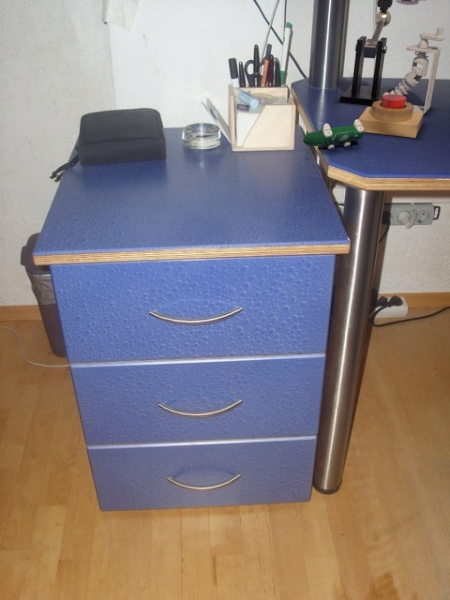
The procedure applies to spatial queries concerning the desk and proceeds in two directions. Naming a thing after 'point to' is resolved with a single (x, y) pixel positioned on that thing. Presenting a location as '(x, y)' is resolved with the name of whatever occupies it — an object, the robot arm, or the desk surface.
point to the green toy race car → (335, 135)
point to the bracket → (356, 91)
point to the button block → (391, 120)
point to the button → (393, 101)
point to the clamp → (419, 72)
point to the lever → (376, 34)
